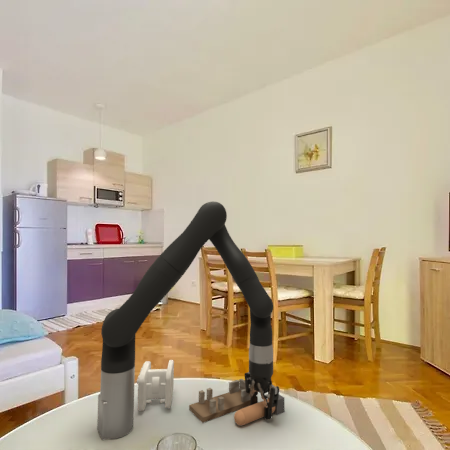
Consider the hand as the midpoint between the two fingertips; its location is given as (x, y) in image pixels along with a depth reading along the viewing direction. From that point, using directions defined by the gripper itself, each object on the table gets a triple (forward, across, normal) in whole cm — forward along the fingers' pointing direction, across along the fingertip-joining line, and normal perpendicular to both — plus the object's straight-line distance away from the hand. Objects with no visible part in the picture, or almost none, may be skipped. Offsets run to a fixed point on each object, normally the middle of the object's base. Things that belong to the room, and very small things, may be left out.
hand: (260, 413), depth 95 cm
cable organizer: (+1, -26, -24) cm, 35 cm away
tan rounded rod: (+1, 0, -1) cm, 1 cm away
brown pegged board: (+1, -11, -6) cm, 13 cm away
